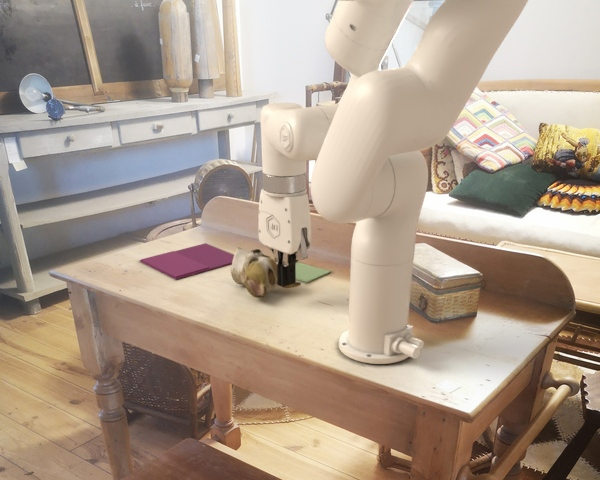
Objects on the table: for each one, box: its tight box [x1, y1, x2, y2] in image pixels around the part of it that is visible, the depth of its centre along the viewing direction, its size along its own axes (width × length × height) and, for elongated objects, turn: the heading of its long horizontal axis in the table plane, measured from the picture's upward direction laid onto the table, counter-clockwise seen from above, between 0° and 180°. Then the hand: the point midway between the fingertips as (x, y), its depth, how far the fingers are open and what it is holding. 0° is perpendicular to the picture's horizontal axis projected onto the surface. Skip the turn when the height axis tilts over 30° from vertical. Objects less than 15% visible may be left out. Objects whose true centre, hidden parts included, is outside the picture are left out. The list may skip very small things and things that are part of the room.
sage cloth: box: [296, 261, 331, 284], centre depth 129 cm, size 12×8×1 cm, turn 49°
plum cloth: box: [139, 243, 234, 280], centre depth 136 cm, size 16×18×1 cm
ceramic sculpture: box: [230, 246, 302, 299], centre depth 118 cm, size 11×9×15 cm
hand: (286, 283), depth 112 cm, fingers closed
